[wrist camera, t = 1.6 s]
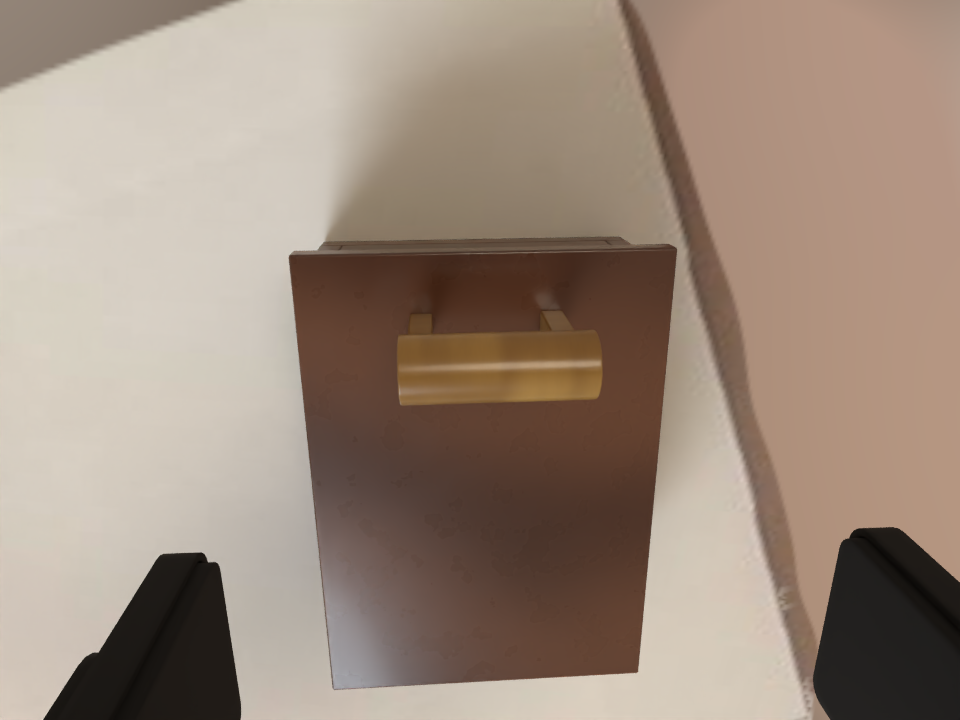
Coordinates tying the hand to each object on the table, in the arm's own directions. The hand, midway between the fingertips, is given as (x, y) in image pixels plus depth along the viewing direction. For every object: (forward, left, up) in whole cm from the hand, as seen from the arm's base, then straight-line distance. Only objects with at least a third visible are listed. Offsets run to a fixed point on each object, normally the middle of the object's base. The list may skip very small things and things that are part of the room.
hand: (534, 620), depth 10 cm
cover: (+5, 0, -13) cm, 14 cm away
